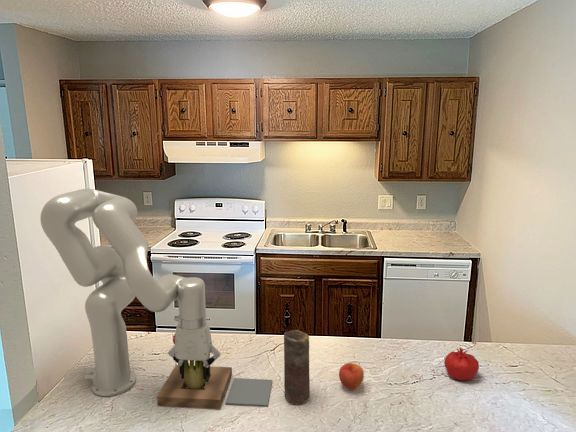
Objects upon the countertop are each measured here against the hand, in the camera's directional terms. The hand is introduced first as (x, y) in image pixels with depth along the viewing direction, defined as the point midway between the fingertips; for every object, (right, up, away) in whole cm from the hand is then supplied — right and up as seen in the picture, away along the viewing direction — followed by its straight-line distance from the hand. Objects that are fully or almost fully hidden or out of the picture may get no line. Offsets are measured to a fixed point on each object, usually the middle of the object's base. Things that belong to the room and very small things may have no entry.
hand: (195, 376), depth 125 cm
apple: (+47, -5, +2) cm, 47 cm away
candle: (+30, -6, -2) cm, 31 cm away
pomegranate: (+82, -3, +9) cm, 83 cm away
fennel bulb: (0, -5, +1) cm, 5 cm away
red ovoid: (-10, 0, +24) cm, 26 cm away
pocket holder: (0, -5, +1) cm, 5 cm away
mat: (+16, -5, 0) cm, 17 cm away
